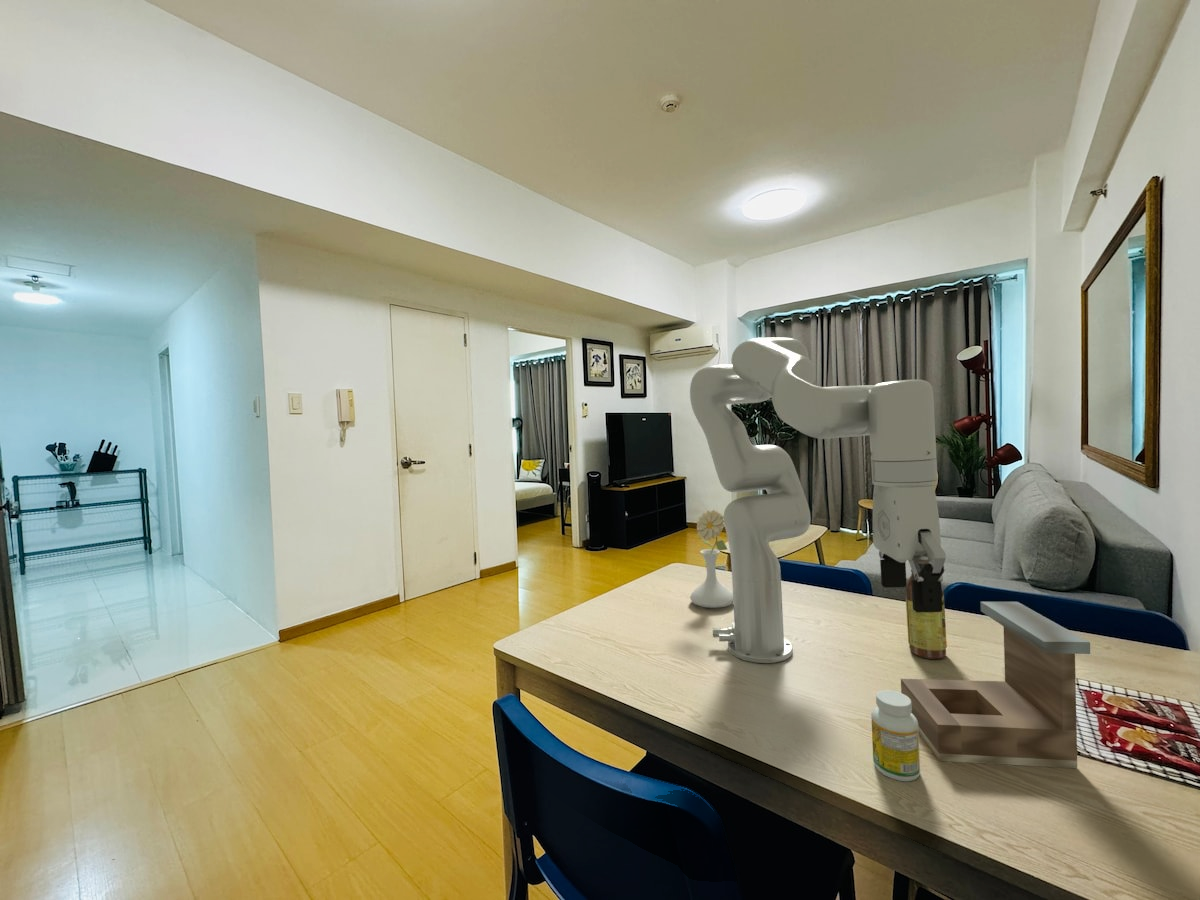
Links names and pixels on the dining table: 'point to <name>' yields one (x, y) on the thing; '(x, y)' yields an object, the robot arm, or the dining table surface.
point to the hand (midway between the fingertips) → (909, 598)
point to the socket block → (1008, 698)
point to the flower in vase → (711, 564)
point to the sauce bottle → (925, 628)
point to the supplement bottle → (895, 736)
